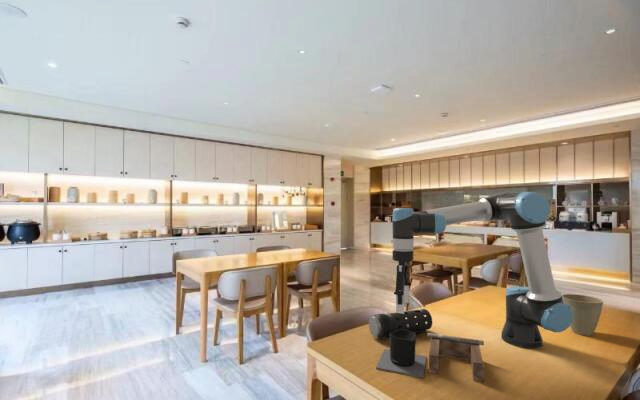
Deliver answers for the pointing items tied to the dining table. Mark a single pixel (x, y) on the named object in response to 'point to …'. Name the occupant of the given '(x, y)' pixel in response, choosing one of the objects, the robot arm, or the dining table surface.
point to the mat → (413, 370)
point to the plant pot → (584, 312)
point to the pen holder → (402, 347)
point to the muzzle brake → (400, 322)
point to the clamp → (456, 352)
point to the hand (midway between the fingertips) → (402, 307)
